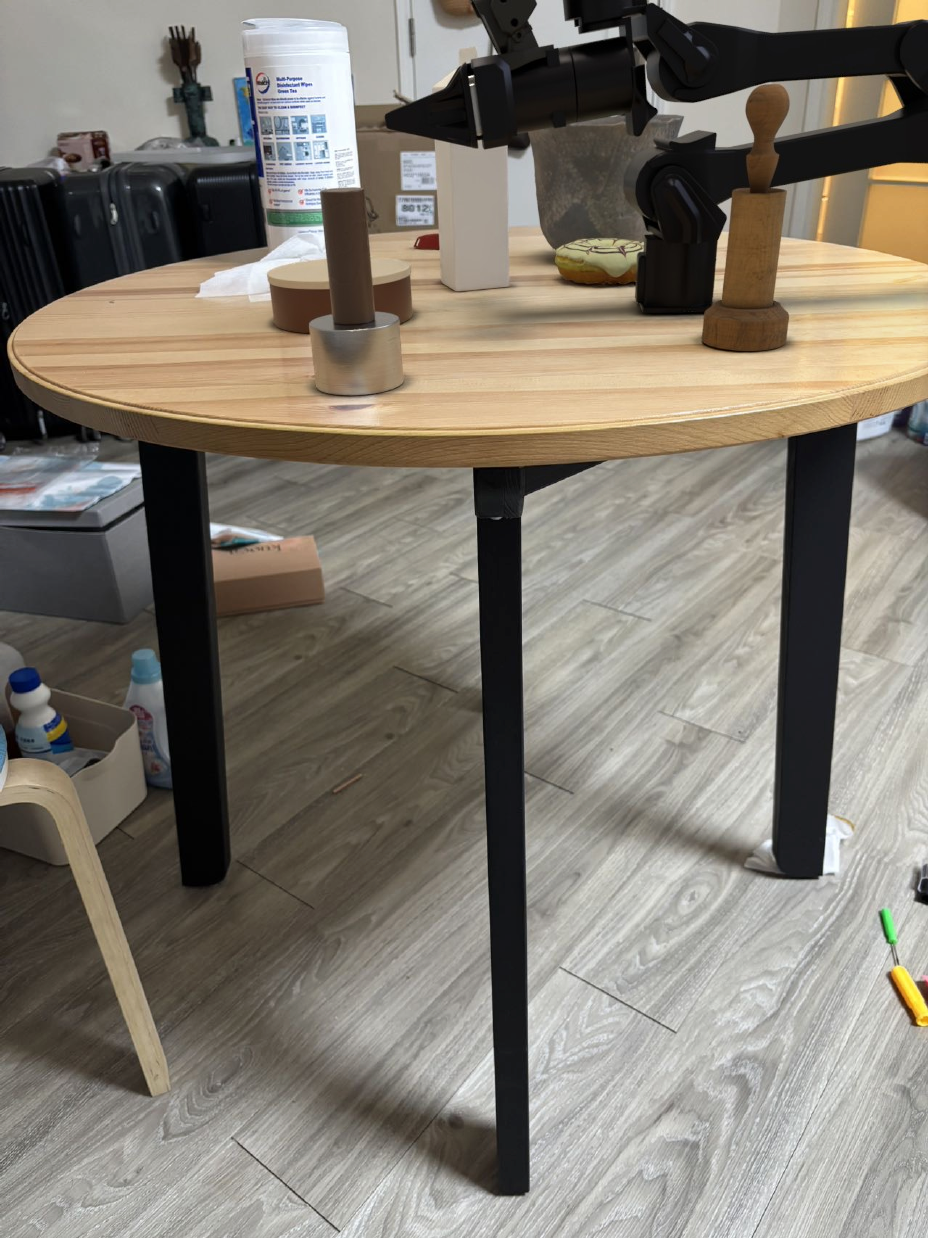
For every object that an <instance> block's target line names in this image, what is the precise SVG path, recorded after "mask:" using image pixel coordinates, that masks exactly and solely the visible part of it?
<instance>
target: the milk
mask: <svg viewBox="0 0 928 1238" xmlns="http://www.w3.org/2000/svg"><path fill="white" fill-rule="evenodd" d="M475 58H478V48H477V46H469V47H465V48H464V47H463V48H459V49H458V67H459V66H462V64H463V63H465V62H466V64H467V63H471V59H475ZM456 70H457V68H454V70H453V71H451V72H450V73H449V74H447V75H446V76H445V77H444V78H442V79H440V80H439V81H438V82H437V83H436V84H434V85H433V86H432V87H431V94H433V93H435V92H438V91H440V90H442V89H444V88H445V87H446V86H447V85H448V83H449V81H450V80H451V78H452V77H453V75H454V73H455V72H456ZM508 146H509V144H508V145H507V146H502V147H496V148H491V149H485V150H484V149H483V146H482V140H478V149H474V148H471V147H466V146H462V145H457V144H453V143H448V142H444V141H439V140H435V139H434V154H435V155H434V156H435V157H434V158H435V176H436V177H435V180H436V202H437V204H436V205H437V223H438V225H437V226H438V234H439V247H440V249H439V264H440V265H439V266H440V282H441V284H443V285H445V286H446V287H448V288H450V289H452V291H454V292H457V293H458V292H466V291H467V292H469V291H479V290H491V289H499V288H509V287H510V234H509V233H510V232H509V231H510V230H509V229H510V228H509V225H510V224H509V222H510V221H509V156H508V155H509V154H508V151H509V150H508V149H509V148H508Z"/></svg>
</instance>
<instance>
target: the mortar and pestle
mask: <svg viewBox="0 0 928 1238" xmlns="http://www.w3.org/2000/svg"><path fill="white" fill-rule="evenodd" d="M790 103H791V101H790V96H789V93H788V91H787V89H786V88H785V87H784V86H783V85H782V84H780V83H765V84H761V85H757V86H756V87H755V88H754V89H753V90H752V91H751V92H750V94H749V95H748V97H747V100H746V103H745V108H744V109H745V111H744V112H745V116H746V117H745V118H746V120H747V122H748V124H749V125H748V126H749V128H750V130H751V133H752V135H753V142H754V143H753V147H752V150H751V152H750V153H749V154H748V155H747V156H746V160H747V171H748V178H749V184H750V188H739V189H735V190H733V191H732V198H731V200H730V201H731V203H730V213H729V223H728V224H729V225H728V236H727V246H726V257H725V265H724V274H723V284H722V293H721V299H718V300H716V301H714V304H713V305H712V306H711V307H710V308H709V309H707V310H706V311H705V312H703V313H704V314H703V320H702V321H703V323H702V332H701V341H702V343H704V344H705V345H707V346H709V347H713V348H716V349H720V350H730V351H739V352H759V351H769V350H774V349H778V348H781V347H783V346H784V345H785V344H786V343H787V338H788V330H789V323H790V322H789V321H790V313H789V312H788V311H787V310H786V309H785V308H784V307H783V305H782V304H781V303H780V302H779V301H777V300H774V298H775V290H776V281H777V274H778V266H779V257H780V249H781V242H782V234H783V226H784V217H785V211H786V210H785V209H786V202H787V194H788V190H786V189H783V188H777V187H772V188H769V186H770V183H771V180H772V178H773V175H774V172H775V169H776V166H777V163H778V158H779V154H777V153H776V152H775V150H774V144H773V143H774V139H775V138H776V136H777V134H778V132H779V130H780V128H781V127H782V125H783V123H784V121H785V120H786V118H787V117H788V114H789V111H790V105H791V104H790Z"/></svg>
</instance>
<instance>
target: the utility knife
mask: <svg viewBox="0 0 928 1238" xmlns="http://www.w3.org/2000/svg"><path fill="white" fill-rule="evenodd" d="M413 248H414V249H418V250H440V247H439V232H438V233H434V232H433V233H427V234H423V235H419V236H418V237H417V238H416V239H415V242H414V244H413Z"/></svg>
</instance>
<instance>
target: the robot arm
mask: <svg viewBox="0 0 928 1238" xmlns="http://www.w3.org/2000/svg"><path fill="white" fill-rule="evenodd" d="M469 3H470V6H471V7H472V11H473V12H474V14H475V16H476V18H478V19H480V21H481V23H482V25H483V27H484V29H485V32H486V34H487V36H488V38H489V40H490V42H491V44H492V46H493V48H494V50H495V53H496V54H492V55H486V56H481V57H477V58H475V59H471V63H467V64H466V62H465V63H463V64H462V66H459V65H458V67H456V69H457V70H456V72H455V73H454V75H453V77H452V78H451V80H450V81H449V83H448V85H447V86H446V87H445V88H444V89H442V90H440V91H438V92H435V93H433V94H432V93H430V94H427V95H426V96H423V97H421V98H419V99H416V100H414V101H411V102H409V103H406V104H404V105H402V106H400V107H396V108H395V109H392V110H390V111H388V112H386V113H385V114H384V122H385V127H386V129H387V130H389V131H395V132H399V133H404V134H408V135H413V136H417V137H423V138H427V139H431V140H434V141H435V140H439V141H444V142H448V143H453V144H457V145H462V146H466V147H471V148H474V149H478V140H482V146H483V149H484V150H485V149H491V148H496V147H502V146H507V145H508V146H509V144H510V142H511V141H512V140H513V138H514V137H517V136H518V135H519V134H525V133H528V132H531V131H536V130H541V129H547V128H554V129H555V128H561V127H566V125H568V124H574V123H579V122H584V121H590V120H595V119H600V118H606V117H615V116H623V115H624V116H625V119H626V132H627V134H628V135H631V136H635V137H639V136H641V134H642V133H643V131H644V129H645V127H646V126H647V124H648V123H649V121H650V120H651V119H652V118H653V117H654V116H656V115H658V114H659V110H658V108H657V107H656V106H653V105H652V104H651V102H649V100H648V91H647V82H648V84H649V86H650V88H651V90H652V91H653V93H655V95H657V97H658V98H660V99H661V100H663V101H666V102H670V103H679V104H681V103H683V104H695V103H700V102H704V101H707V100H712V99H716V98H720V97H723V96H726V95H731V94H734V93H737V92H741V91H743V90H746V89H750V88H753V87H758V86H761V85H765V84H770V83H781V82H796V81H810V80H824V79H839V78H840V79H841V78H855V77H868V76H869V77H870V76H885V77H886V78H887V80H888V81H889V83H891V85H892V88H893V90H894V92H895V94H896V96H897V99H898V101H899V103H900V105H901V107H900V108H898V109H896V110H894V111H893V112H891V113H889V114H886V115H883V116H879V117H875V118H874V117H873V118H869V119H865V120H859V121H853V122H848V123H844V124H838V125H833V126H829V127H823V128H819V129H813V130H809V131H803V132H798V133H794V134H788V135H783V136H778V137H775V139H774V143H773V144H774V150H775V152H776V153H777V154H779V158H778V163H777V166H776V169H775V172H774V175H773V178H772V180H771V183H770V186H769V188H777V187H782V186H787V185H793V184H797V183H802V182H803V183H804V182H807V181H808V182H809V181H812V180H818V179H823V178H829V177H833V176H838V175H843V174H848V173H849V174H850V173H853V172H858V171H865V170H869V169H875V168H880V167H885V166H891V165H895V164H927V165H928V19H924V18H921V19H920V18H919V19H914V20H906V21H901V22H900V21H899V22H897V23H895V24H883V25H870V26H869V25H867V26H855V27H854V26H853V27H852V26H851V27H839V28H824V29H810V30H807V29H806V30H794V31H781V32H780V31H778V32H769V31H763V30H756V29H752V28H746V27H742V26H737V25H730V24H722V23H715V22H710V21H709V22H708V21H700V20H699V21H691V22H688V23H685V22H683V21H682V20H680V19H679V18H678V17H675V16H674V15H673V14H671V13H670V12H668V11H666V10H665V9H664V8H663V6H662V7H661V6H659V5H657V4H655V2H649V3H648V0H562V5H563V6H562V7H563V16H564V22H570V21H571V22H572V21H573V25H574V28H577V32H578V35H585V34H590V33H596V32H601V31H605V30H610V29H611V30H612V29H616V28H618V34H619V35H618V36H614V37H610V38H609V37H608V38H604V39H598V40H594V41H588V42H582V43H577V44H573V45H568V46H561V47H555V44H554V43H552V44H547V45H541V46H539V43H538V41H537V39H536V36H535V34H534V32H533V26H532V24H530V22H529V19H530V17H531V16H532V14H533V13H534V11H535V10H536V7H537V6H538V2H537V0H469ZM634 48H635V49H636V50H637V51H638V53H639V54H640V55H641V57H642V58H643V59H644V61H645V63H643V64H637V63H636V57H635V50H634ZM717 136H718V134H717V132H715V131H709V130H708V131H707V130H701V129H696V130H694V131H691V132H688V133H685V134H683V135H681V136H678V138H675V139H666V140H665V139H660V138H654V139H653V141H654V143H655V144H656V147H650V148H647V149H644V150H642V151H640V152H639V153H637V154H636V155H635V156H634V158H633V159H632V161H631V162H630V163H629V165H628V166H627V169H626V172H625V174H624V179H623V190H624V194H625V198H626V200H627V201H628V203H629V204H630V206H631V207H632V208H633V209H635V210H636V211H637V212H638V213H640V214H641V216H642V219H643V222H644V226H645V229H646V231H648V232H651V233H653V234H646V235H644V250H643V252H639V253H638V254H637V263H636V282H635V286H634V287H635V288H634V299H635V302H636V303H637V305H640V309H641V312H642V313H643V314H664V313H665V314H674V313H675V314H679V313H705V311H706V310H707V309H709V308H710V307H711V306H712V305H713V304H714V303H715V301H714V291H715V279H716V267H717V255H718V244H719V243H718V242H719V240H720V237H721V235H722V232H723V230H724V227H725V225H726V223H727V220H728V216H727V214H726V213H725V212H724V210H723V209H722V208H721V207H720V206H719V205H720V204H722V203H724V202H727V201H728V200H730V199H732V191H733V190H735V189H739V188H750V184H749V178H748V171H747V160H746V156H747V155H748V154H749V153H750V152H751V150H752V147H753V143H754V141H753V142H748V143H741V144H737V145H732V146H717Z"/></svg>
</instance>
